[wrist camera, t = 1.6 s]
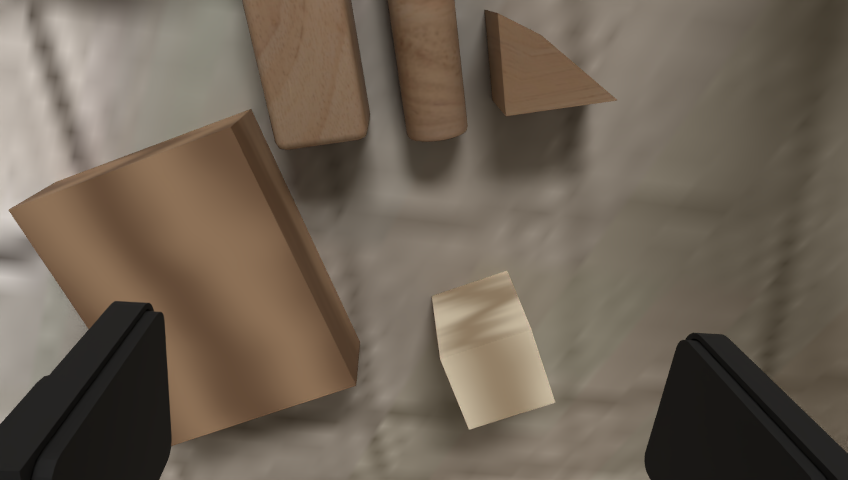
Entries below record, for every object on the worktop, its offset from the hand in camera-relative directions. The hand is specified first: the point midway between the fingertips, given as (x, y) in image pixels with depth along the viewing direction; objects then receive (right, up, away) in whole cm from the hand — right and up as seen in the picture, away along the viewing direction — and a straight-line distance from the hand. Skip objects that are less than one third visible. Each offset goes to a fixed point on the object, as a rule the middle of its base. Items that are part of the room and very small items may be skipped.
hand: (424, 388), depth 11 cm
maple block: (+4, -2, +28) cm, 28 cm away
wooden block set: (0, +17, +20) cm, 27 cm away
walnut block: (-12, +1, +26) cm, 29 cm away
